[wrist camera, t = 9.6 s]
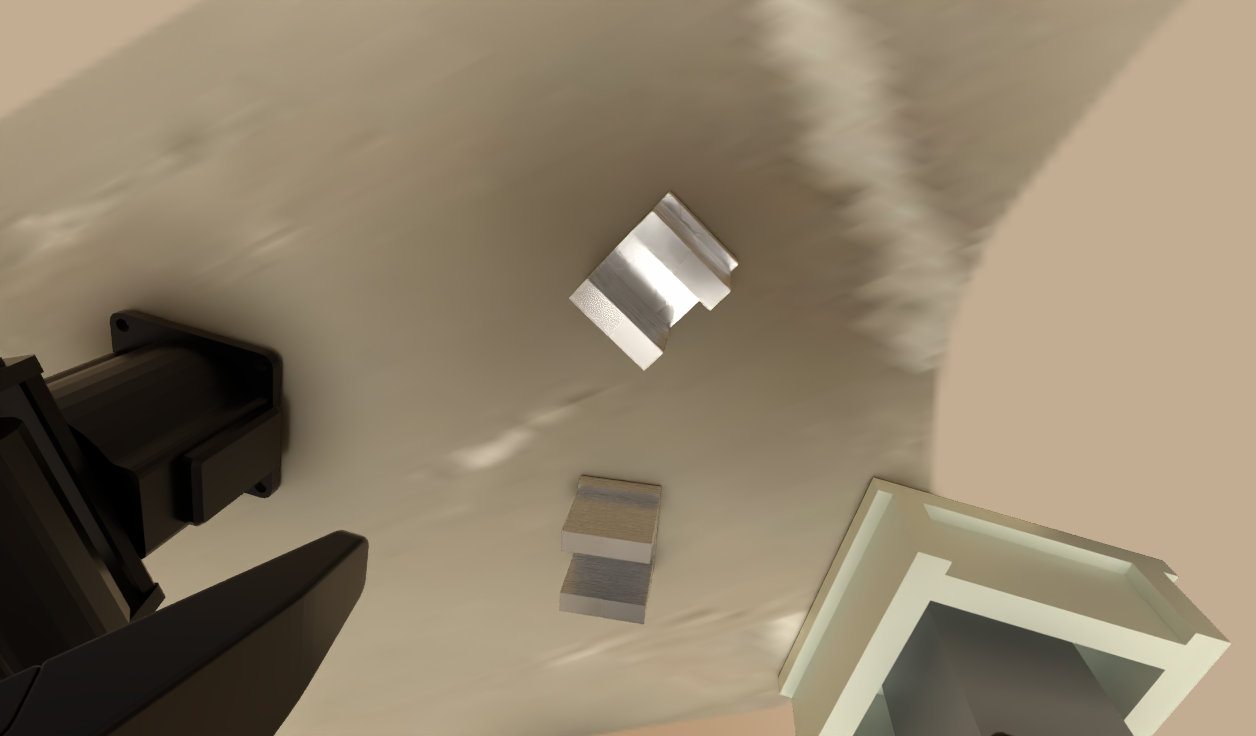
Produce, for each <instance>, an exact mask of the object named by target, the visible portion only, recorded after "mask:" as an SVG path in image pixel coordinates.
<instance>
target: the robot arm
mask: <svg viewBox="0 0 1256 736" xmlns="http://www.w3.org/2000/svg"><path fill="white" fill-rule="evenodd" d="M126 322H127V323H126ZM127 324H128V325H127ZM110 327H111V336H112V346H113V353H111V354H108V355H106V356H103V357H100V358H98V359H95V360H92V361H90V362H87V363H84V364H82V365H79V366H76V367H74V368H71V369H69V370H66V371H63V372H61V373H58V374H55V375H53V376H50V377H47V378H45V379H43V377H42V375H41V373H43V372H44V371H43V369H42V367H41V365H40V363H39V362H38V360H37V358H36V356H35V355H27V356H20V357H14V358H7V359H2V357H0V736H274V734H275V733H276V732H277V730H278V729H279V728H280V726H281V725H282V723H283V722H284V721H285V719H286V718H287V717H288V715H289V714H290V712H291V711H292V709H293V708H294V707H295V705H296V704H297V702H298V701H299V699H300V698H301V696H302V695H303V693H304V691H305V690H306V688H307V686H308V685H309V683H310V681H311V680H312V678H313V676H314V675H315V673H316V671H317V670H318V668H319V666H320V664H321V663H322V661H323V659H324V658H325V656H326V654H327V652H328V651H329V649H330V647H331V646H332V644H333V642H334V640H335V639H336V637H337V635H338V634H339V632H340V630H341V628H342V627H343V625H344V623H345V622H346V620H347V618H348V616H349V615H350V613H351V611H352V610H353V608H354V606H355V605H356V603H357V601H358V599H359V598H360V596H361V593H362V591H363V588H364V585H365V580H366V570H367V559H368V548H369V545H368V540H367V539H366V538H365V537H364V536H361V535H358V534H354V533H351V532H348V531H344V530H339V531H335V532H333V533H330V534H328V535H326V536H324V537H321V538H319V539H317V540H315V541H313V542H310V543H308V544H306V545H304V546H301V547H299V548H297V549H295V550H292V551H290V552H288V553H286V554H283V555H281V556H279V557H277V558H274V559H272V560H270V561H268V562H265V563H263V564H261V565H259V566H256V567H254V568H252V569H250V570H248V571H245V572H243V573H241V574H239V575H236V576H234V577H232V578H230V579H227V580H225V581H223V582H221V583H218V584H216V585H214V586H212V587H209V588H207V589H205V590H203V591H200V592H198V593H196V594H194V595H191V596H189V597H187V598H185V599H183V600H180V601H178V602H176V603H174V604H171V605H169V606H167V607H165V608H162V609H160V610H158V611H156V609H157V608H158V607H159V605H160V604H161V603H162V601H163V600H164V599H165V595H164V593H163V591H162V589H161V587H160V586H159V584H158V583H154V582H153V580H152V578H151V576H150V574H149V572H148V571H147V569H146V567H145V565H144V563H143V561H142V560H141V559H143V558H145V557H146V556H148V555H149V554H150V553H152V552H153V551H154V550H156V549H157V548H158V547H160V546H161V545H162V544H164V543H165V542H166V541H168V540H169V539H170V538H172V537H173V536H174V535H176V534H177V533H178V532H180V531H181V530H182V529H184V528H185V527H186V526H188V525H189V524H191V525H194V526H199V525H201V524H203V523H205V522H207V521H208V520H209V519H211V518H212V517H213V516H214V515H216V514H217V513H218V512H220V511H221V510H222V509H224V508H225V507H226V506H227V505H229V504H230V503H231V502H233V501H234V500H235V499H237V498H238V497H239V496H240V495H242V494H243V493H247V494H251V495H254V496H257V497H261V498H267V497H269V496H270V495H272V494H273V493H274V492H275V491H276V490H277V489H278V486H279V465H280V444H281V412H280V361H279V359H278V357H277V356H276V355H275V354H274V353H273V352H271V351H269V350H267V349H263V348H260V347H256V346H253V345H249V344H246V343H243V342H239V341H236V340H232V339H229V338H225V337H222V336H219V335H215V334H212V333H208V332H205V331H201V330H198V329H195V328H191V327H188V326H184V325H181V324H177V323H174V322H170V321H167V320H164V319H160V318H157V317H153V316H150V315H146V314H143V313H140V312H136V311H133V310H123V311H120V312H117V313H114V314H112V316H111V317H110ZM262 361H264V362H265V363H266V366H267V367H265V366H264V365H263V364H262ZM262 483H263V484H264V485H265V486H264V485H263V484H262ZM155 611H156V612H155ZM990 736H1016V735H1013V734H1009V733H1006V732H1003V731H997V732H995V733H992V734H991V735H990Z"/></svg>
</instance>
